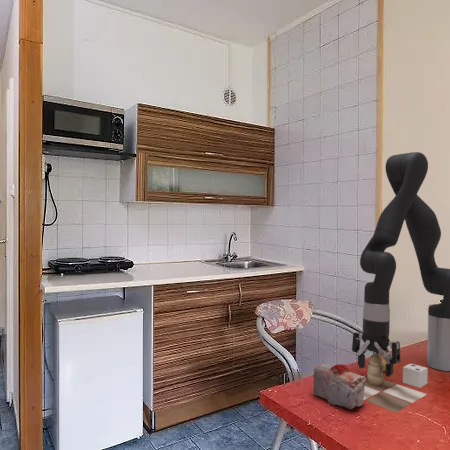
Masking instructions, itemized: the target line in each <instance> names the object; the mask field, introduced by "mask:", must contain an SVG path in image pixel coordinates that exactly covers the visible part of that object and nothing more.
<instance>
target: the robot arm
mask: <svg viewBox="0 0 450 450" xmlns="http://www.w3.org/2000/svg"><path fill="white" fill-rule="evenodd" d="M428 170H429V162H428V159H427V156H426V155H425V154H424V153H422V152H419V151H415V152H414V151H413V152H406V153H399V154H393V155H391V156H389V157H388V158H387V160H386V162H385V174H386V177H387V180H388V182H389V184H390V187H391V188H392V191H393V193H394V195H395V196H394V197H393V199H392V200H391V201H389V203H388V204H387V205H386V206H385V207H384V209H383V211H382V212H381V214H379V217H378V220H377V223H376V226H375V229H374V232H373V235H372V237H370V239H369V241H368V243H367V244H366V245H365V247H364V249H363V251H362V253H361V255H360V258H359V266H360V268H361V270H362V271H363V272H364V273H367V274H371V275H375V276H374V279H373V281H369V282H366V283H365V285H364V298H363V299H364V300H363V307H362V332H363V333H361V331H355V332H354V333H352V344H351V351H352V352H353V353H356V355H357V366H358V367H359V368H360V369H364V368H365V367H366V355H365V354H366V353H367V351H369V352H374V353H375V354H379V353H380V354H381V355H380V356H381V357H383V358H384V359H385V361H386V363H387V364H386V372H385V374H384V375H385V377H388V378H389V377H391V376H392V375H393V374H394V365H396V364H398V363H400V362H401V343H400V341H399V340H398V341H392V340H390V323H391V322H390V320H391V319H390V317H391V313H390V312H391V310H390V290H391V286H392V283H393V281H394V278H395V274H396V270H397V262H396V258H395V256H394V255H393V254H392V253H391V252H388V251H386V249H389V248H391V247H395V246H396V245H397V243H398V241H399V238H400V236H401V231H402V228H403V225H404V222H405V225H406V228H407V231H408V235H409V238H410V240H411V242H412V246H413V248H414V250H415V251H414V252H415V255H416V258H417V262H418V267H419V271H420V277H421V281H422V284H423V286H424V289H425V290H426V291H427V292H428V293H429V294H432V295H439V296H443V297H442V301H441V302H440V303H436V304H430V305H429V306H428V309H427V310H428V311H427V354H426V355H427V357H426V358H427V359H426V360H427V361H426V362H427V364H426V365H427V366H428V367H430V368H433V369H436V370H439V371H443V372H444V371H445V372H450V268H445V267H439V266H438V265H437V262H436V258H435V253H436V249H437V248H438V245H439V243H440V241H441V237H442V231H441V230H442V229H441V227H440V223H439V221H438V217H437V215H436V213H435V211H434V210H433V209H432V208H431V207H430V206H429V205H428V204H427V203H426V202H425V201H424V200H423V199H422V198H421V197H420V196H419V195H418V193H419V191H420V189H421V186H422V185H423V182H424V181H425V178H426V177H427V173H428ZM361 341H363V344H362V345H361ZM389 347H390V349H391V350H390V349H389ZM384 351H385V352H384Z"/></svg>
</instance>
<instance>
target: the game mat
mask: <svg viewBox="0 0 450 450" xmlns="http://www.w3.org/2000/svg"><path fill="white" fill-rule="evenodd" d="M365 377H366V382H365V386H364V390H365V391H364V399H363V400H364V401H365V402H368V403H369V404H373V405H375V406H377V407H381V408H382V409H386V410H388V411H391V412H392V413H396V414H397V413H398V412H400V411H401V410H403V409H405V408H406V407H408V406H410V405H412V404H413V403H415V402H417V401H419V400H420V399H421V398H423V397H425V396H427V395H428V394H427V393H425V392H422V391H419V390H416V389H412V388H410V387H406V386H404V385H400V384H398V383H395V382H392V381H389V380H386V379H383V385H380V386H375V385H371V384H369V383H368V382H367V375H366V376H365Z"/></svg>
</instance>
